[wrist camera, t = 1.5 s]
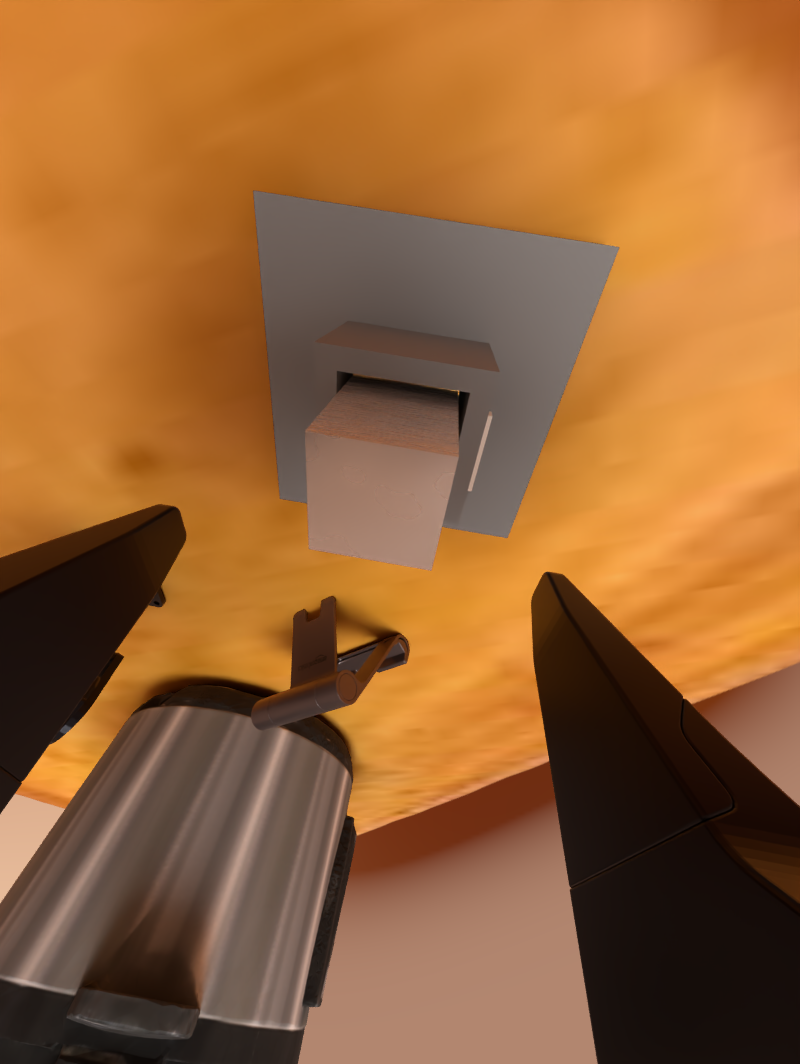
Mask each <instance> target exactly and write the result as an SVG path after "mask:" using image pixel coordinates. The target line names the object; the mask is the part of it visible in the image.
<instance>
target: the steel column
mask: <svg viewBox="0 0 800 1064" xmlns="http://www.w3.org/2000/svg"><path fill="white" fill-rule="evenodd" d="M458 395H459V391H456V390H450V389H444V388H438V387H432V386H426V385H420V384H414V383H408V382H402V381H396V380H390V379H383V378H377V377H371V376H365V375H359V374H353V376H352V377H351V378H350V379H349V380H348V381H347V383H346V384H345V385H344V386H343V387H342V388H341V390H340V391H339V392H338V393H337V394H336V395H335V396H334V398H333V399H332V400H331V401H330V402H329V403H328V405H327V406H326V407H325V408H324V409H323V410H322V412H321V413H320V414H319V415H318V416H317V417H316V419H315V420H314V421H313V422H312V423H311V424H310V426H309V427H308V428H307V429H306V430H305V450H306V479H307V508H308V538H309V549H312V550H317V551H323V552H329V553H334V554H340V555H346V556H351V557H357V558H363V559H369V560H374V561H380V562H386V563H391V564H397V565H403V566H408V567H414V568H420V569H425V570H432V566H433V562H434V558H435V553H436V549H437V545H438V541H439V537H440V533H441V529H442V524H443V520H444V516H445V512H446V508H447V504H448V500H449V496H450V491H451V487H452V483H453V479H454V475H455V471H456V467H457V462H458V458H459V430H458Z"/></svg>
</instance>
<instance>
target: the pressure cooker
mask: <svg viewBox="0 0 800 1064" xmlns="http://www.w3.org/2000/svg"><path fill="white" fill-rule="evenodd" d="M262 699H264V698H263V697H259V696H256V695H252V694H249V693H245V692H242V691H238V690H235V689H231V688H228V687H222V686H211V685H193V686H191V685H189V686H188V687H186V688H184V689H182V690H180V691H178V692H177V693H167V694H163V695H158V696H155V697H153V698H152V699H150V700H149V701H147V702H146V703H144V704H143V705H141V706H140V707H139V708H138V709H137V710H135V711H134V712H133V714H132V715H131V717H130V718H129V719H128V720H127V721H126V722H125V724H124V725H123V727H122V728H121V730H120V731H119V733H118V734H117V736H116V737H115V738H114V740H113V741H112V743H111V744H110V746H109V747H108V749H107V750H106V751H105V753H104V754H103V756H102V757H101V759H100V760H99V761H98V763H97V764H96V766H95V767H94V769H93V770H92V772H91V773H90V774H89V776H88V777H87V779H86V780H85V781H84V783H83V784H82V786H81V787H80V788H79V790H78V791H77V793H76V794H75V796H74V797H73V799H72V800H71V801H70V803H69V804H68V806H67V807H66V809H65V810H64V812H63V813H62V815H61V816H60V817H59V819H58V820H57V822H56V823H55V825H54V826H53V828H52V829H51V831H50V832H49V833H48V835H47V836H46V838H45V839H44V841H43V842H42V844H41V845H40V847H39V848H38V850H37V851H36V853H35V854H34V855H33V857H32V858H31V860H30V861H29V862H28V864H27V866H26V867H25V868H24V870H23V871H22V873H21V874H20V876H19V877H18V879H17V880H16V881H15V883H14V884H13V886H12V887H11V889H10V890H9V892H8V893H7V895H6V896H5V898H4V899H3V900H2V902H1V903H0V1064H298V1059H299V1054H300V1050H301V1044H302V1039H303V1034H304V1028H305V1026H306V1023H307V1017H308V1012H309V1007H319V1006H320V1005H321V1002H322V997H323V992H324V987H325V982H326V977H327V972H328V967H329V962H330V958H331V955H332V950H333V946H334V940H335V935H336V930H337V926H338V921H339V917H340V912H341V907H342V903H343V899H344V895H345V889H346V885H347V881H348V875H349V872H350V867H351V862H352V857H353V852H354V847H355V842H356V836H357V835H356V831H355V827H354V818H353V817H350V816H347V808H348V803H349V798H350V794H351V789H352V783H353V772H352V762H351V757H350V755H349V752H348V749H347V746H346V745H345V743H344V742H343V741H342V739H341V738H340V737H339V736H338V735H337V734H336V733H335V732H334V731H333V730H332V729H331V728H330V727H328V726H327V725H326V724H324V723H323V722H322V721H321V720H319V719H318V718H316V717H314V716H311V717H308V718H305V719H301V720H298V721H295V722H291V723H288V724H285V725H281V726H278V727H275V728H271V729H268V730H264V731H261V730H258V729H257V728H255V726H254V725H253V723H252V720H251V712H252V708H253V706H254V705H255V703H256V702H258V701H259V700H262Z"/></svg>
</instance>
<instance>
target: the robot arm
mask: <svg viewBox="0 0 800 1064" xmlns="http://www.w3.org/2000/svg"><path fill="white" fill-rule="evenodd" d="M185 541H186V531H185V527H184V524H183V520H182V517H181V513H180V511H179V509H178V508H176V507H174V506H169V505H163V504H158V505H155V506H152V507H149V508H146V509H143V510H140V511H137V512H134V513H131V514H128V515H125V516H122V517H119V518H116V519H113V520H110V521H107V522H104V523H101V524H99V525H96V526H93V527H90V528H87V529H84V530H81V531H78V532H75V533H72V534H69V535H66V536H63V537H60V538H57V539H54V540H51V541H48V542H45V543H42V544H40V545H37V546H34V547H31V548H28V549H25V550H22V551H19V552H16V553H13V554H10V555H7V556H4V557H1V558H0V814H1V812H2V811H3V809H4V808H5V807H6V805H7V804H8V802H9V801H10V800H11V798H12V797H13V795H14V794H15V793H16V791H17V790H18V788H19V787H20V785H21V784H22V783H21V782H22V781H23V780H24V779H25V778H26V777H27V775H28V774H29V772H30V771H31V770H32V768H33V767H34V765H35V764H36V763H37V761H38V760H39V758H40V757H41V755H42V754H43V753H44V751H45V750H46V748H47V747H48V746H49V744H52V743H54V742H56V741H57V740H59V739H60V738H61V737H62V736H64V735H65V734H66V733H67V732H68V731H69V730H70V729H71V728H73V727H74V725H75V724H76V723H77V722H78V721H79V720H80V719H81V718H82V717H83V716H84V715H85V714H86V712H87V711H88V710H89V709H90V707H91V706H92V705H93V703H94V702H95V700H96V699H97V697H98V696H99V694H100V693H101V691H102V690H103V688H104V687H105V685H106V684H107V682H108V681H109V679H110V678H111V676H112V674H113V673H114V671H115V670H116V668H117V667H118V665H119V664H120V662H121V661H122V659H123V658H124V656H122V655H121V654H119V653H115V651H116V650H117V648H118V647H119V646H120V644H121V643H122V641H123V640H124V639H125V637H126V636H127V634H128V633H129V632H130V630H131V629H132V627H133V626H134V625H135V623H136V622H137V620H138V619H139V617H140V616H141V615H142V613H143V612H144V610H145V609H146V608H147V606H148V605H150V606H156V607H162V606H163V604H164V603H165V599H164V596H163V594H162V591H161V589H160V586H161V585H162V583H163V581H164V579H165V578H166V576H167V574H168V572H169V570H170V569H171V567H172V565H173V563H174V561H175V560H176V558H177V556H178V554H179V552H180V551H181V549H182V547H183V545H184V543H185ZM531 613H532V638H533V659H534V667H535V674H536V681H537V687H538V693H539V699H540V706H541V712H542V718H543V724H544V730H545V737H546V743H547V749H548V755H549V762H550V768H551V774H552V780H553V787H554V793H555V799H556V805H557V812H558V818H559V824H560V830H561V837H562V843H563V849H564V855H565V861H566V868H567V874H568V880H569V885H570V887H571V889H570V894H571V901H572V906H573V913H574V919H575V925H576V931H577V938H578V944H579V950H580V956H581V963H582V969H583V976H584V982H585V988H586V994H587V1000H588V1007H589V1013H590V1019H591V1025H592V1031H593V1038H594V1044H595V1050H596V1056H597V1062H598V1064H800V806H799V805H798V804H797V803H795V802H794V801H793V800H792V799H791V798H790V797H789V796H788V795H787V794H786V793H784V792H783V791H782V790H781V789H780V788H779V787H778V786H777V785H776V784H775V783H773V782H772V781H771V780H770V779H769V778H768V777H767V776H766V775H765V774H763V773H762V772H761V771H760V770H759V769H758V768H757V767H756V766H755V765H754V764H753V763H752V762H751V761H749V760H748V759H747V758H746V757H745V756H744V755H743V754H742V753H741V752H740V751H739V750H737V748H735V747H734V746H733V745H732V744H731V743H730V742H729V741H728V740H727V739H726V738H725V737H724V736H723V735H722V734H721V733H720V732H719V731H718V730H717V729H716V728H715V727H714V726H713V725H711V723H710V722H709V721H708V720H706V719H705V717H704V716H703V715H702V714H700V712H698V710H697V709H696V708H695V707H694V706H693V705H692V704H691V703H690V702H689V701H688V700H687V699H683V695H682V694H681V693H680V692H679V691H678V690H677V689H676V688H675V687H674V686H673V685H672V684H671V683H670V682H669V681H668V680H667V679H666V678H665V677H664V676H663V675H662V674H661V673H660V672H659V671H658V670H657V669H656V668H655V667H654V666H653V665H652V664H651V663H650V662H649V661H648V660H647V659H646V658H645V657H644V656H643V655H642V654H641V653H640V652H639V651H638V650H637V649H636V648H635V647H634V646H633V645H632V644H631V643H630V642H629V641H628V639H627V638H626V637H625V636H624V635H623V634H622V633H621V632H620V631H619V630H618V629H617V628H616V627H615V626H614V625H613V624H612V623H611V622H610V621H609V620H608V619H607V618H606V617H605V616H604V615H603V614H602V613H601V612H600V611H599V610H598V609H597V608H596V607H595V606H594V605H593V604H592V603H591V602H590V601H589V600H588V599H587V598H586V597H585V596H584V595H583V594H582V593H581V592H580V591H579V590H578V589H577V588H576V587H575V586H574V585H573V584H572V583H571V582H570V581H569V580H568V579H567V578H566V577H565V576H564V575H563V574H559V573H553V572H545V573H544V574H543V575H542V577H541V579H540V581H539V583H538V585H537V587H536V589H535V591H534V593H533V596H532V600H531Z"/></svg>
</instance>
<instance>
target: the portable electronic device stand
mask: <svg viewBox="0 0 800 1064" xmlns="http://www.w3.org/2000/svg"><path fill="white" fill-rule="evenodd" d="M335 601H336V600H335V598H334V597H328V598H326V599H324V600H322V601H321V610H320V615H319V617H318V618H316V619H314V620H311V621H309V622H308V619H307V611H306V610H305V609H303V610H301V611H299V612H297V613H296V614H295V616H294V618H293V646H292V668H291V687H290V689H289V690H287V691H284V692H281V693H278V694H275V695H273V696H270V697H267V698H264V699H262V700H259V701H258V702H256V703H255V705H254V706H253V708H252V712H251V720H252V723H253V725H254V726H255V728H257V729H258V730H261V731H264V730H268V729H271V728H275V727H278V726H281V725H285V724H288V723H291V722H295V721H298V720H301V719H305V718H308V717H311V716H315V715H318V714H321V713H325V712H328V711H331V710H335V709H338V708H341V707H345V706H348V705H352V704H353V703H355V701H356V700H357V699H358V697H359V696H360V694H361V693H362V691H363V690H364V689H365V687H366V686H367V684H368V683H369V681H370V680H371V678H372V677H373V675H374V674H375V673H376V671H377V672H382V671H385V670H388V669H391V668H394V667H397V666H400V665H403V664H406V663H407V661H408V656H409V652H410V649H409V644H408V641H407V640H406V638H405V637H404V636H403V635H400V634H399V635H396V636H391V637H388V638H386V639H384V640H383V641H380V642H378V643H375V644H373V645H370V646H367V647H365V648H362V649H360V650H357V651H354V652H352V653H349V654H347V655H344V656H341V657H337V640H336V605H335Z"/></svg>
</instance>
